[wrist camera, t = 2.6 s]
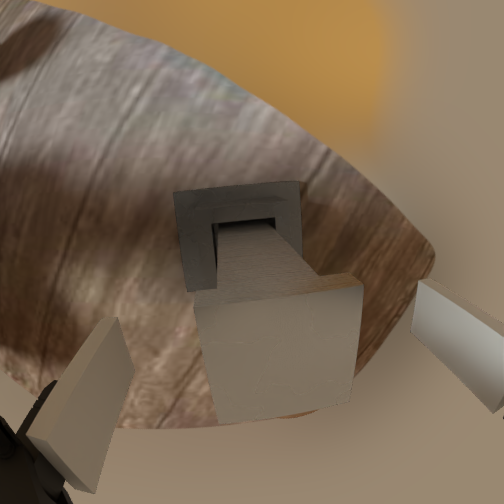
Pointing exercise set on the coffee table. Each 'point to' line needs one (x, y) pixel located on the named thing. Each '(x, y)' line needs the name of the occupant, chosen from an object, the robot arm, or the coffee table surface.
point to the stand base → (226, 210)
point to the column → (275, 328)
